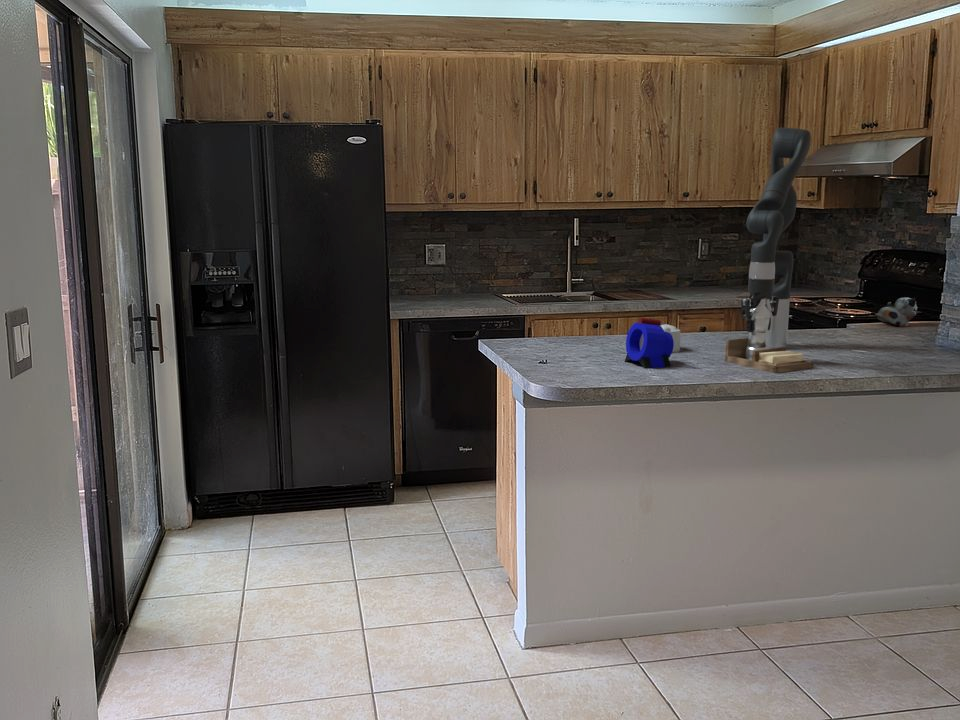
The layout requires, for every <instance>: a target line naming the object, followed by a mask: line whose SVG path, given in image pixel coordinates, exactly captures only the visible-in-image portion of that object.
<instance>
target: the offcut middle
mask: <svg viewBox="0 0 960 720" xmlns="http://www.w3.org/2000/svg"><path fill="white" fill-rule="evenodd" d="M759 362H761V363H765V364H770V365H774V366H780V365H788V364H795V363H801V361H795V362H783V363H770V362H766V361H762V360H759Z"/></svg>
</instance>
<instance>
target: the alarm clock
mask: <svg viewBox="0 0 960 720" xmlns="http://www.w3.org/2000/svg"><path fill="white" fill-rule="evenodd" d="M661 325H662V320H660V319H655V318H648V317H641V316H640V317H638V320H637V322H635V323H633V324H632V325H631V327H629V330H628V332H627V334H626V335H627V336H626V338H625V340H626V341H625V349H626V356H625V359H624V362H625V363H626V362H638V363H639V364H641V366H642V367H643V369H645V370H647V369H658V368H659V369H661V368H669V367H672V365H671V362H670V357H671V356H672V354H673V352H672V351H673V346H674V341H673V337H672V335H671V334H670V333H669V332H664V330H663V328H662V327H661Z"/></svg>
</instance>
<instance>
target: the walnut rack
mask: <svg viewBox="0 0 960 720" xmlns="http://www.w3.org/2000/svg"><path fill="white" fill-rule="evenodd" d="M748 339H749V336H747V337H742V338H741V337H739V338H731V339H726V340H725V354H724V355H725V357H724V362H726V363H730V364H733V365H739V366H742V367H743V366H744V367H747V368H751V369H756V370H760V371H763V372H768V373H773V374H779V373H786V372H793V371H799V370H807V369H813V368H814V361H810V360H806V359H803V361H801V363H795V364H788V365H780V366H774V365H770V364H765V363H761V362H759V353H764V352H777V351H787V350H786V349H787V346H786V347H779V348H771V349H762V350H754V351H753V352H752V360H748V359H747V358H746V348H747V346H748Z"/></svg>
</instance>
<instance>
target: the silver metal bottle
mask: <svg viewBox="0 0 960 720" xmlns="http://www.w3.org/2000/svg"><path fill="white" fill-rule="evenodd" d="M760 299H762V300H763V304H762V305H761V307H760V310H759V312H758V313H757V314H756V315H755V318H754V332H748V337H749V339H748V346H747V348H746V358H747V359H748V360H752V352H753V351H754V350H762V349H767V331H768V325H769V320H770V312H769V310H768V308H767V307H766V299H767V298H760ZM752 310H755V309H753V308H752ZM751 315H752V312H751V313H750V316H751Z"/></svg>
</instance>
